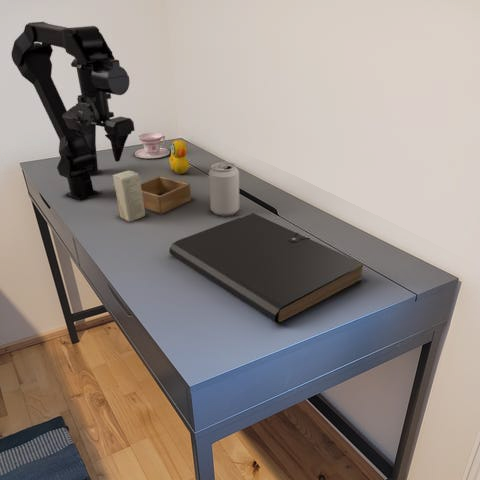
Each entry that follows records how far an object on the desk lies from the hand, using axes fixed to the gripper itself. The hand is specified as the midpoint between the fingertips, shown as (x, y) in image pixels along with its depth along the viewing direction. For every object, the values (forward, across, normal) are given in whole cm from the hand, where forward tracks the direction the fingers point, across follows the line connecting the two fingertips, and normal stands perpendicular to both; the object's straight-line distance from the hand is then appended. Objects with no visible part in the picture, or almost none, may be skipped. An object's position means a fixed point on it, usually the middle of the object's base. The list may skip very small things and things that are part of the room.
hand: (105, 157), depth 120 cm
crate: (+13, +8, +10) cm, 18 cm away
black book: (+13, +51, -4) cm, 53 cm away
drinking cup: (+13, -27, +15) cm, 33 cm away
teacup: (+13, -25, +40) cm, 49 cm away
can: (+13, +26, +15) cm, 33 cm away
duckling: (+13, -4, +31) cm, 34 cm away
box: (+13, +9, -2) cm, 16 cm away
